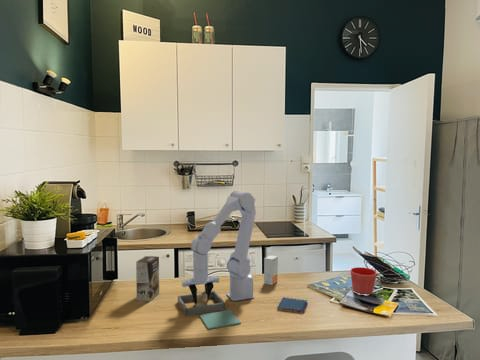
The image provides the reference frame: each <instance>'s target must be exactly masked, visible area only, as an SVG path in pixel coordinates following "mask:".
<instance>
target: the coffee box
mask: <svg viewBox="0 0 480 360" xmlns="http://www.w3.org/2000/svg"><path fill="white" fill-rule="evenodd" d="M135 262H136V267H135V268H136V269H135V270H136V271H135V272H136V278H135V279H136V300H137V301H144V302H145V301H146V302H151V301H152V300H154V299H155V297H157V296H158V295H159V294H160V256H155V255H154V256H153V255H149V256H146V255H144V257H142V258H140V259H138V260H137V261H135Z"/></svg>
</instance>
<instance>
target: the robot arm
mask: <svg viewBox="0 0 480 360" xmlns="http://www.w3.org/2000/svg"><path fill="white" fill-rule="evenodd" d="M255 203H256V198H255V197H254V196H253V195H252V193H250V192H244V191H239V190H233V191H231V193H230V194H229V195H228V197H227V198H226V201H225V203H224V205H223V206H222V208H221V209H220V211H219V212H218V214H217V216H216V217H215V218H214V220H212V221H209V222H207V223H205V224H204V227H203V229H202V231H201V232H200V233H198V234H197V237H194V238H193V239H192V241H191V244H189V247H190V249H191V250H192V261H193V262H192V267H193V271H192V272H193V273H192V274H193V276H192V277H193V278H190V279H186V280H182V281H181V286H182V287H183V288H186V287H188V288H189V290H190V293H191V294H192V296H193V300H194V301H193V304H194V305H195V304H197V292H198V288H197V286H198V285H204V291H205V292H206V294H207V303H209V299H210V298H209V296H210V293H211V291H213V290H214V283H216V284H218V283H220V277H219V276H216V275H215V276H209V254H208V253H209V252H210V251H211V249H212V243H213V242H214V241H215V239H216V237H217V236H218V235H219V234H220V232H221V231H222V229H221V226H222V225H223V224H224V222H225V221H226V220H227V219H228V218H229V217H230V216H231V214H232V213H233V212H235V211H239V212H240V214H241V218H240V222H239V223H240V224H239V226H238V227H239V228H238V232H237V236H236V237H237V238H236V244H235V248H234V251H233V252H231V254H230V257H229V258H228V260H227V263H226V268H227V271H228V272H229V292H227V293H226V296H227V297H228V298H229V299H230V300H231V301H233V302H235V301H242V300H249V299H254V298H255V296H254V277H253V276H252V275H251V274H250V272H251V259H250V257H249V253H248V252H249V248H250V243H251V239H252V233H253V228H254V223H255V219H256V213H257V212H256V206H255Z"/></svg>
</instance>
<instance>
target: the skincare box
mask: <svg viewBox="0 0 480 360" xmlns="http://www.w3.org/2000/svg"><path fill="white" fill-rule="evenodd" d="M278 258H279V257H278V256H277V255H267V256H266V257H264V258H263V268H264V269H263V284H265V285H269V286H273V285H274V284H275V283H277V282H278V279H279V278H278V275H279V273H278V267H279V266H278V265H279V260H278Z"/></svg>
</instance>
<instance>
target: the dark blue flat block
mask: <svg viewBox="0 0 480 360" xmlns="http://www.w3.org/2000/svg"><path fill="white" fill-rule="evenodd" d="M307 305H308V299H299V298H298V299H297V298H294V297H282V298H281V300H280V302H279V303H278V306H276V309H277V311H282V312H285V311H286V312H290V313H291V312H292V313H295V314H303V313H305V309H306V307H307Z"/></svg>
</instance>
